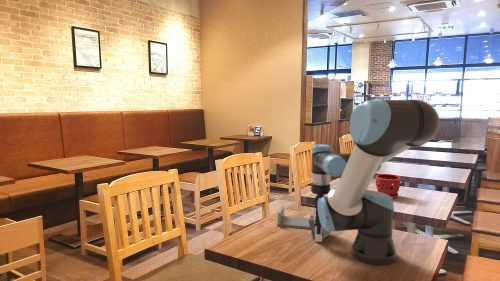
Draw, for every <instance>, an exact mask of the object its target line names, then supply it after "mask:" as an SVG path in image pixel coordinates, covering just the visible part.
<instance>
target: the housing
mask: <svg viewBox="0 0 500 281" xmlns="http://www.w3.org/2000/svg"><path fill="white" fill-rule="evenodd" d="M315 216H316V208H315V207H311V211H310V214H309V217H301V216H292V215H291V216H290V215H285V205H281V206H280V208H279V210H278V211H277V227H287V228H294V229H295V228H298V229H308V230H311V229H310V224H309V219H311V218H313V217H315Z"/></svg>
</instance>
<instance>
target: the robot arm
mask: <svg viewBox="0 0 500 281" xmlns="http://www.w3.org/2000/svg"><path fill="white" fill-rule="evenodd" d="M439 116H440V115H439V114H438V112H437V110H436V109H435V108H434V106H432V105H431V104H429V103H428V102H426V101H424V100H420V99H381V98H375V99H367V100H363V101H361V102H360V103H358V104H357V105H356V106H355V108H354V109H353V111H352V113H351V116H350V119H349V122H350V124H349V134H350V137H351V139H352V142H353V144H354V146H353V148H352V151H351V153H350V152H349V153H348V152H347V153H332V146H331V145H329V144H323V143H321V144H314V145H313V146H312V148H311V174H309V177H310V178H311V184H310V191H311V193H312V194H314V195H315V194H316V195H315V198H314V202H315V203H314V204H315V206H314V208H315V216H316V221H315V224H314V226H315V231H314V232H315V239H314V241H315V243H316V242H319V243H322V242H323V240H322V227H323V229H324V230H326V231H330V232H342V231H343V232H345V231H354V230H355V231H356V230H357V233H356V236H355V238H354V241H353V243H352V246H351V254H352V256H353V257H354V258H356V259H357V260H358V261H360V262H364V263H365V264H371V265H376V266H377V265H380V266H382V265H383V266H385V265H386V266H387V265H390V264H393V263H394V262H396V260H397V250H396V247H395V242H394V239H393V221H394V211H395V208H394V207H395V204H394V198H392V197H391V196H389V195H387V194H385V193H381V192H377V191H378V190H370V189H368V188H369V185H370V184H371V183H372V180H373V178H374V176H375V174H376V173H377V172H379V171H380V169H381V168H382V164H385V163H386V162H387V161H389V160H392V159H393V158H395V157H397V156H399V155H400V154H402V153H403V152H405V151H407V150H409V149H411V148H419V147H421V146H423V145H426V144H427V143H429V142H430V141H431V140H432V139H433V138H435V137H436V135H437V134H438V133H439V129H440V123H441V122H440V121H441V120H440V117H439ZM331 177H340V178H339V181H338V183H337V185H336V186H335V187H334V188H332V189H331V184H330V183H331V182H332V180H331V179H332V178H331ZM325 195H327V197H326V196H325Z"/></svg>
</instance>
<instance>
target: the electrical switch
mask: <svg viewBox="0 0 500 281" xmlns="http://www.w3.org/2000/svg"><path fill="white" fill-rule="evenodd" d="M315 221H316V215H315V217H313V218H311V219H309V224H310V229H309V230H310V232H311V237H312V239H314V240H315V226H314V224H315ZM330 235H331V231H326V230H324V229H323V227H322V241H323V240H324V239H325V238H327V237H328V236H330Z"/></svg>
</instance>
